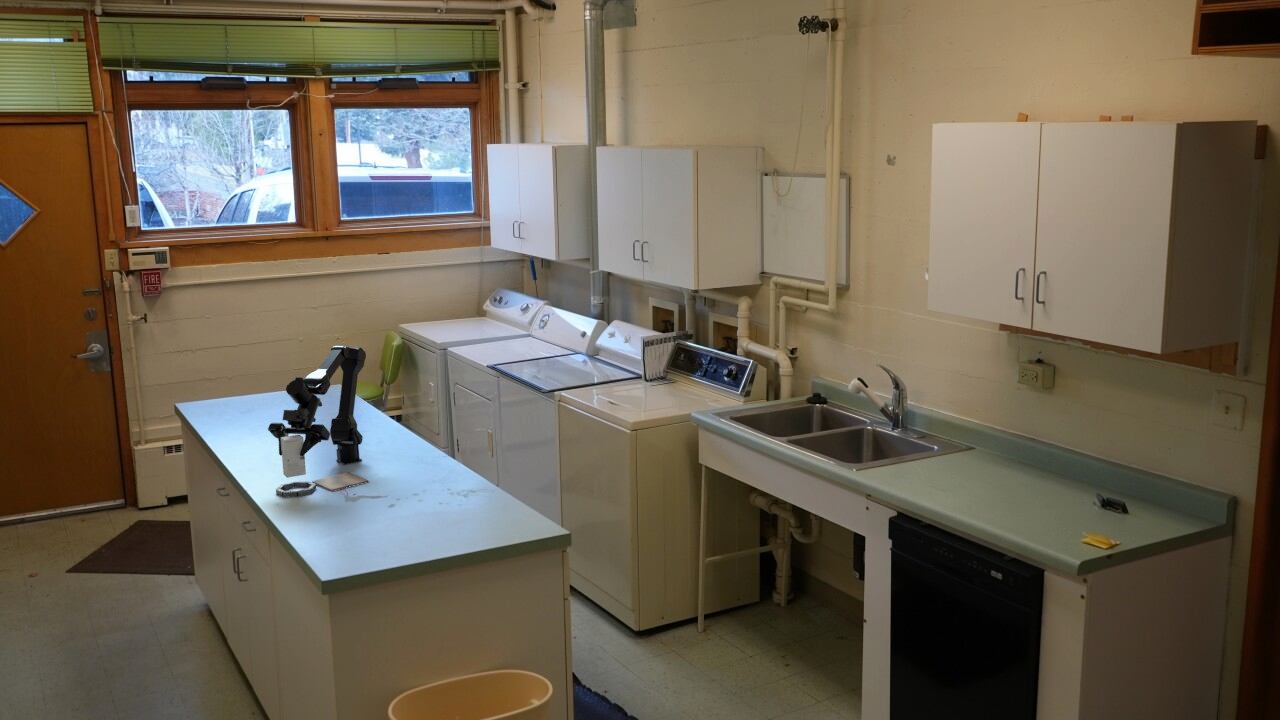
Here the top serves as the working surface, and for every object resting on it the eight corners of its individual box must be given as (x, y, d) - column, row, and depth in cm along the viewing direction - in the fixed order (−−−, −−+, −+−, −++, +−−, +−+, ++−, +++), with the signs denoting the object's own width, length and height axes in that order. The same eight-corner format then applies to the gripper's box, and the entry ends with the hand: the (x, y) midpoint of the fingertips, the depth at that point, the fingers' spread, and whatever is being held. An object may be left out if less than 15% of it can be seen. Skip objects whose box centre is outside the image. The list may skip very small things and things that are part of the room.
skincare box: (287, 478, 340) (283, 440, 338) (283, 474, 344) (279, 437, 341) (307, 474, 344) (303, 436, 341) (302, 471, 347) (299, 433, 345)
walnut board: (348, 474, 362) (348, 472, 361) (369, 482, 352) (368, 480, 352) (311, 483, 353) (311, 481, 353) (331, 491, 344) (331, 489, 343)
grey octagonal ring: (304, 483, 352) (304, 479, 352) (321, 490, 344) (321, 486, 344) (271, 491, 345) (270, 487, 345) (287, 499, 337) (287, 494, 337)
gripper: (268, 397, 345) (251, 441, 337) (322, 399, 340) (306, 443, 332) (284, 415, 354) (268, 458, 346) (337, 417, 350) (322, 461, 341)
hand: (290, 455), depth 341 cm, fingers closed on skincare box, 7 cm apart
